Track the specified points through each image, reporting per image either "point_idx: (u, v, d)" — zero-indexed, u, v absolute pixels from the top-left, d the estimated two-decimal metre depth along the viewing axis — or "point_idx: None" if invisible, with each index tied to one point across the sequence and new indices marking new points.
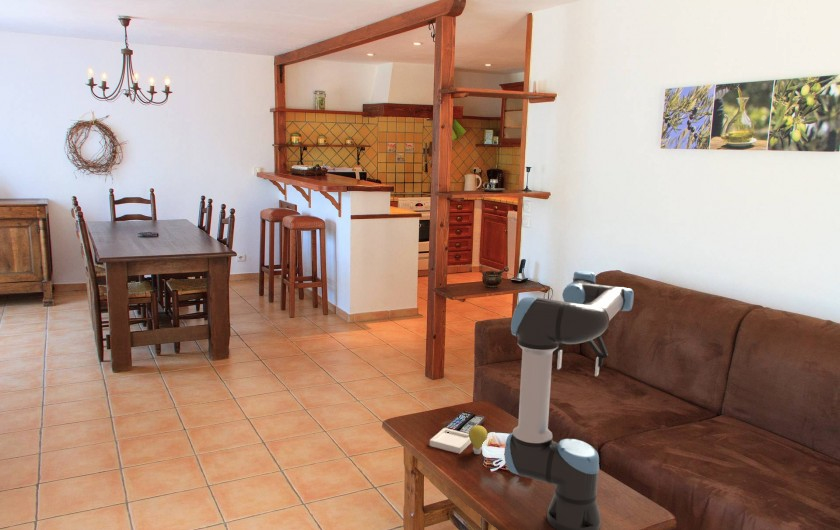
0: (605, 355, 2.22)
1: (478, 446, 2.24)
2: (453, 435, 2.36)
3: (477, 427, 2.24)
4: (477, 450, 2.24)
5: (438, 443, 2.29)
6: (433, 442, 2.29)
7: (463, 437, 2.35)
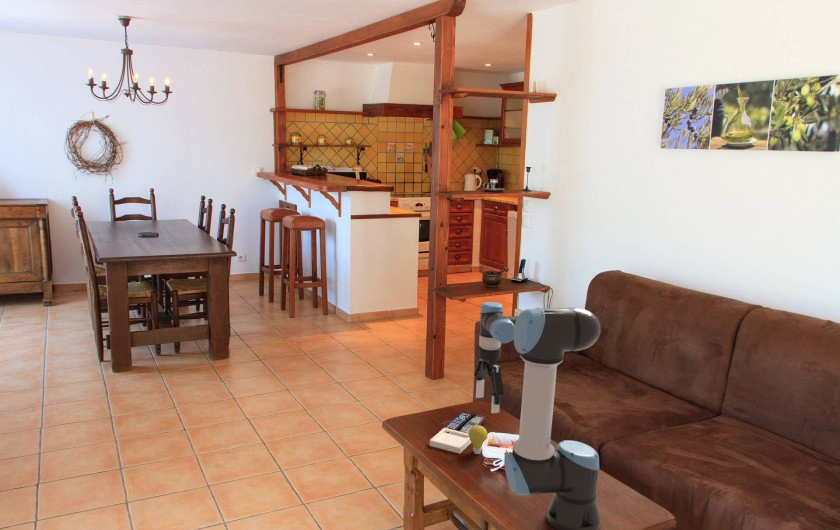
0: (496, 393, 2.13)
1: (478, 446, 2.24)
2: (453, 435, 2.36)
3: (477, 427, 2.24)
4: (477, 450, 2.24)
5: (438, 443, 2.29)
6: (433, 442, 2.29)
7: (463, 437, 2.35)
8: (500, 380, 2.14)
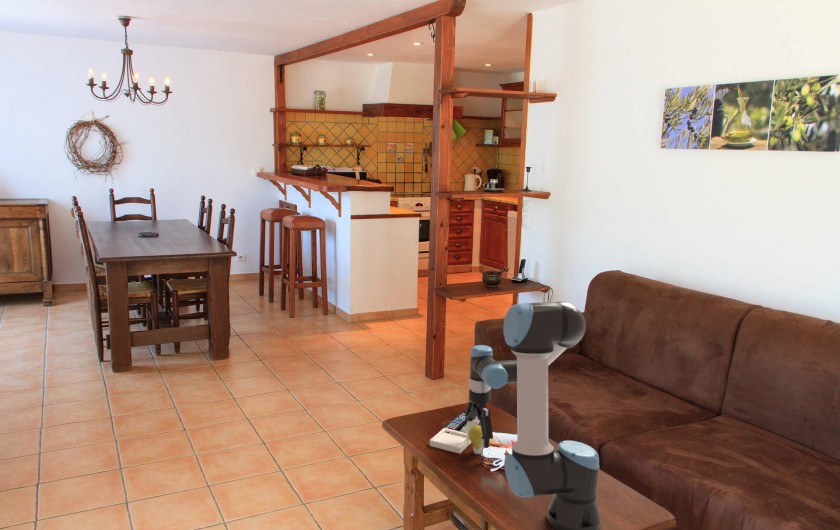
0: (485, 436, 2.15)
1: (478, 446, 2.24)
2: (453, 435, 2.36)
3: (477, 427, 2.24)
4: (477, 450, 2.24)
5: (438, 443, 2.29)
6: (433, 442, 2.29)
7: (463, 437, 2.35)
8: (489, 423, 2.16)
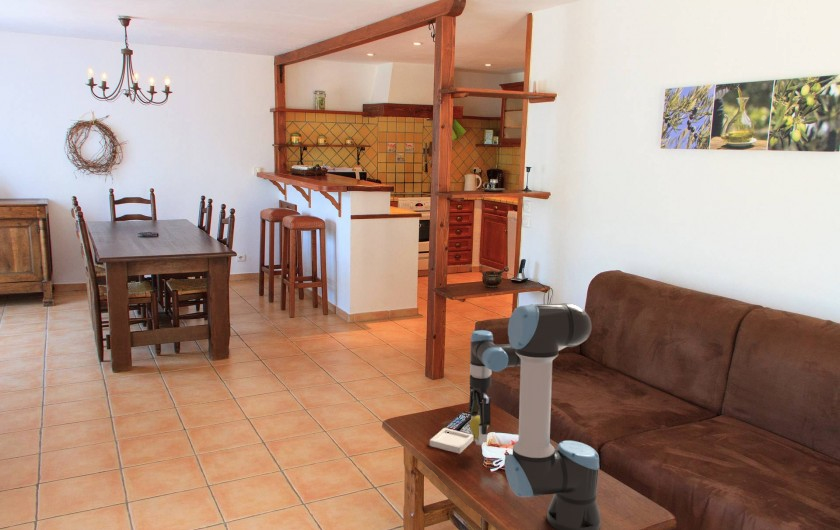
0: (483, 423, 2.17)
1: None
2: (453, 435, 2.36)
3: (477, 417, 2.23)
4: None
5: (438, 443, 2.29)
6: (433, 442, 2.29)
7: (463, 437, 2.35)
8: (489, 411, 2.16)
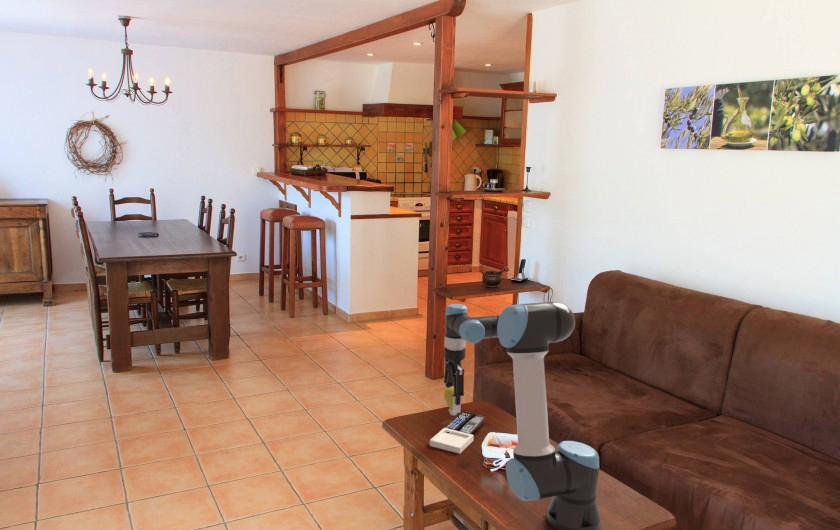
0: (456, 394, 2.23)
1: None
2: (453, 435, 2.36)
3: (452, 388, 2.29)
4: None
5: (438, 443, 2.29)
6: (433, 442, 2.29)
7: (463, 437, 2.35)
8: (462, 382, 2.22)
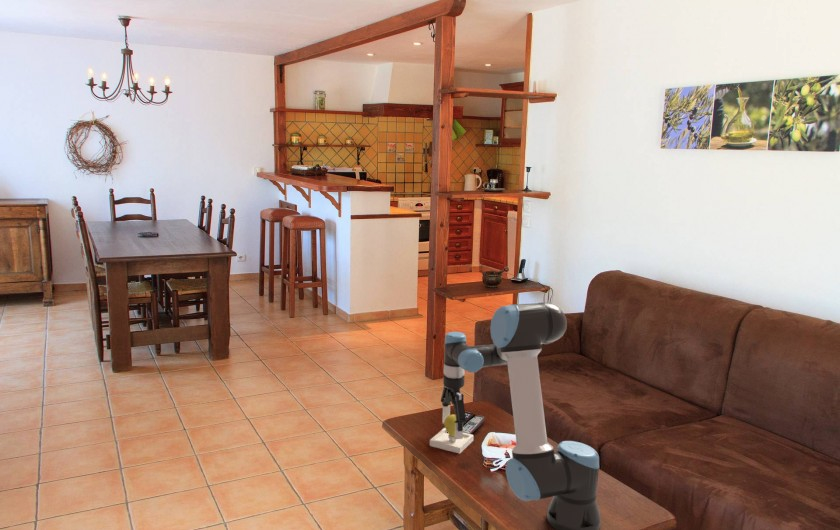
0: (458, 420, 2.21)
1: (453, 434, 2.30)
2: None
3: (452, 416, 2.29)
4: (452, 438, 2.30)
5: (438, 443, 2.29)
6: (433, 442, 2.29)
7: (463, 437, 2.35)
8: (463, 408, 2.22)
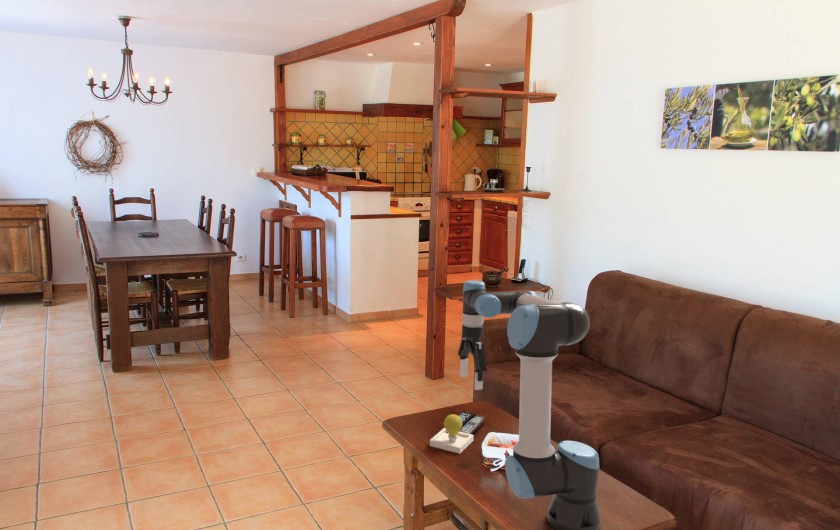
0: (479, 369, 2.16)
1: (453, 434, 2.30)
2: None
3: (452, 416, 2.30)
4: (452, 438, 2.30)
5: (438, 443, 2.29)
6: (433, 442, 2.29)
7: (463, 437, 2.35)
8: (483, 356, 2.17)
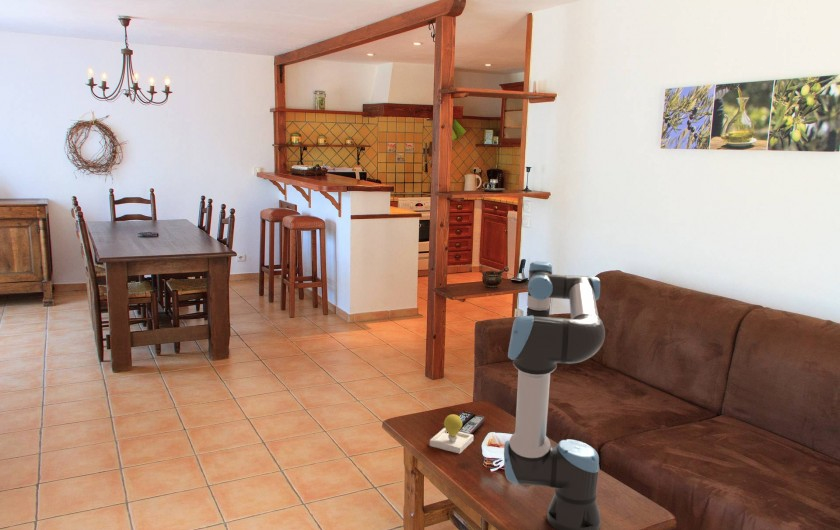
0: None
1: (453, 434, 2.30)
2: None
3: (452, 416, 2.30)
4: (452, 438, 2.30)
5: (438, 443, 2.29)
6: (433, 442, 2.29)
7: (463, 437, 2.35)
8: None
